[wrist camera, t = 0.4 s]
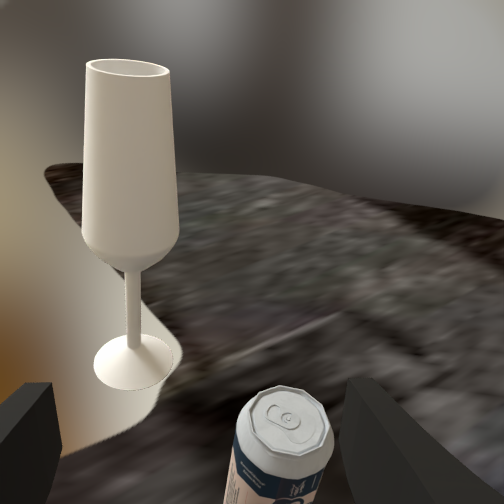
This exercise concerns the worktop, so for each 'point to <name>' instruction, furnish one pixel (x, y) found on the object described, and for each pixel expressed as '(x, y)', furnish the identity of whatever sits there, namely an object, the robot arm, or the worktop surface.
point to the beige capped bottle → (279, 449)
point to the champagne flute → (129, 200)
